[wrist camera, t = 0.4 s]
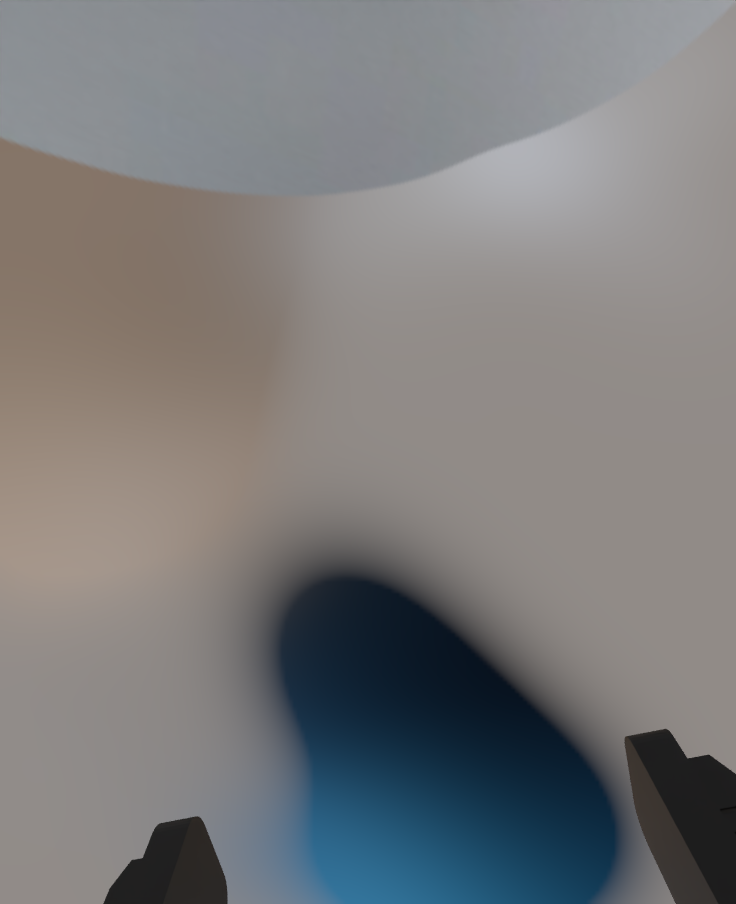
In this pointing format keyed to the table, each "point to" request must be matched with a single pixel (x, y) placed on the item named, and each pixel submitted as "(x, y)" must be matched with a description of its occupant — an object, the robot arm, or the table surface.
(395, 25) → the table surface
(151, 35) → the table surface
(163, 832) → the robot arm
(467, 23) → the table surface
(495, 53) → the table surface
